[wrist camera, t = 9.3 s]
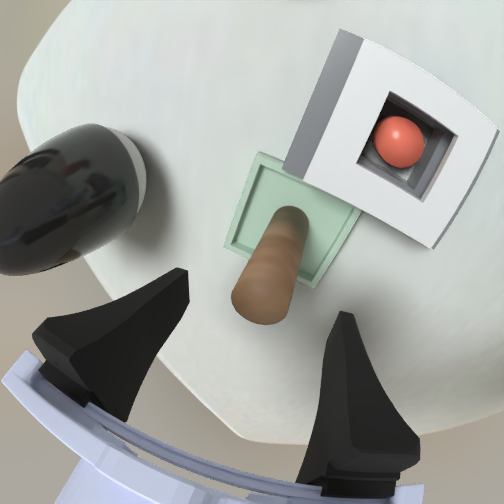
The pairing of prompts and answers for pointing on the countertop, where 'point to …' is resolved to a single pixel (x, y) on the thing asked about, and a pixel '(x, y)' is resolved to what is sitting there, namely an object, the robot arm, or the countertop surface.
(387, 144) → the button
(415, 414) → the countertop surface
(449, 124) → the box
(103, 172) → the pump dispenser
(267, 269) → the brown wooden cylinder
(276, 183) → the rest tray
